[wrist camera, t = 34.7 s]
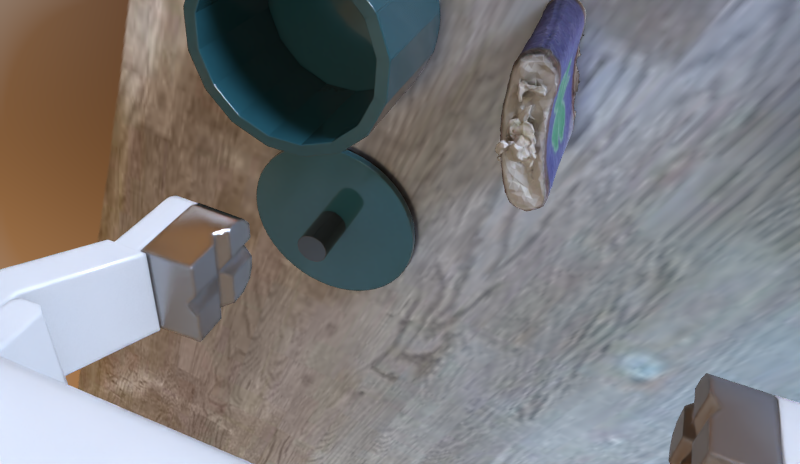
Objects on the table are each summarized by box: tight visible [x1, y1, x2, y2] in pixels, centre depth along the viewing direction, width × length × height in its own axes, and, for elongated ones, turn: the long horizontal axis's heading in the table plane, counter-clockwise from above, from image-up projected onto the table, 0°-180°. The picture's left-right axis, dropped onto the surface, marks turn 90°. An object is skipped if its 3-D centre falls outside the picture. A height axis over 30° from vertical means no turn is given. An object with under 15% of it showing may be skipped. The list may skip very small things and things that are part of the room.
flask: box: [495, 0, 587, 211], centre depth 37 cm, size 9×3×11 cm, turn 3°
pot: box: [183, 0, 440, 157], centre depth 40 cm, size 13×13×8 cm
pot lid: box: [257, 150, 415, 291], centre depth 52 cm, size 14×14×5 cm
